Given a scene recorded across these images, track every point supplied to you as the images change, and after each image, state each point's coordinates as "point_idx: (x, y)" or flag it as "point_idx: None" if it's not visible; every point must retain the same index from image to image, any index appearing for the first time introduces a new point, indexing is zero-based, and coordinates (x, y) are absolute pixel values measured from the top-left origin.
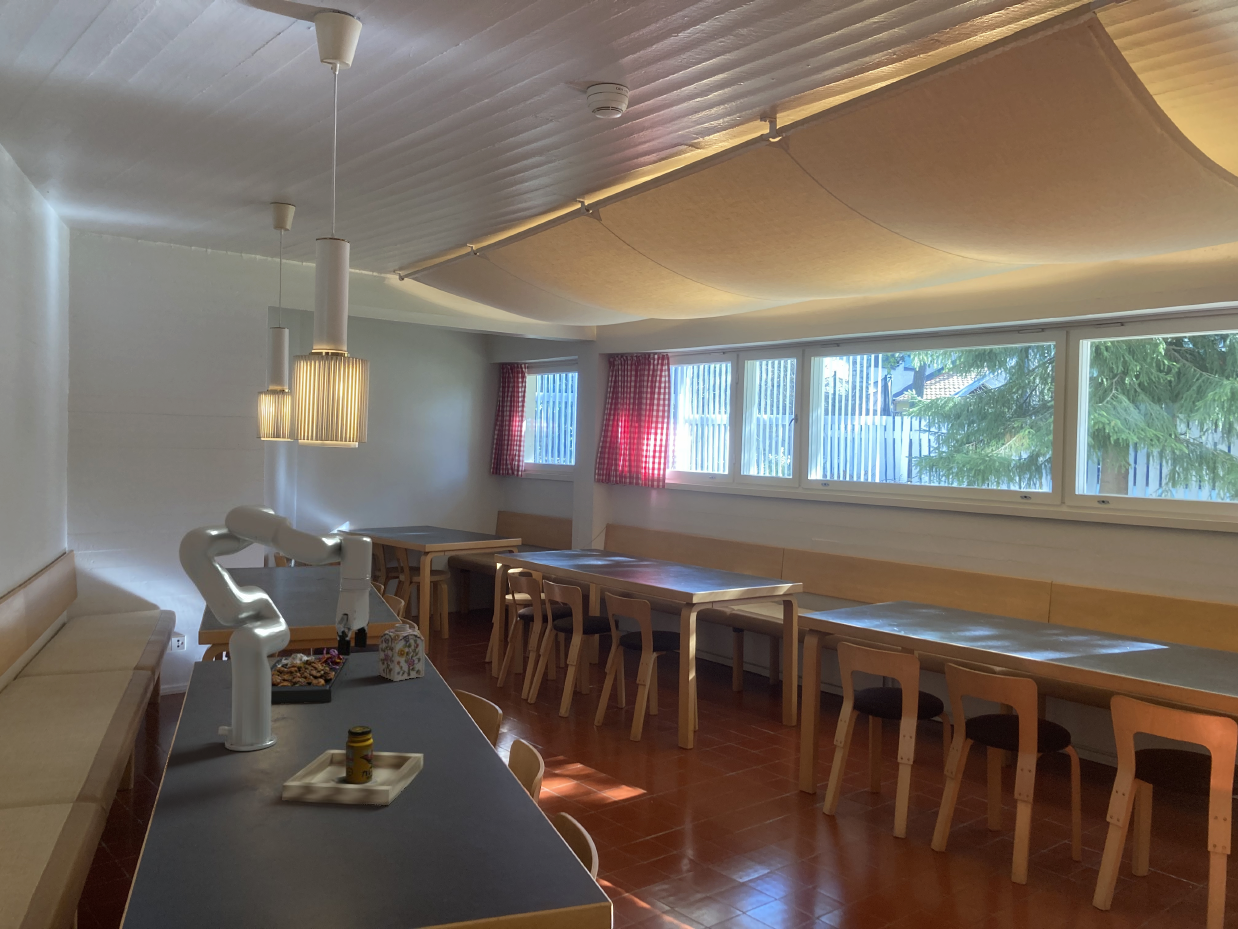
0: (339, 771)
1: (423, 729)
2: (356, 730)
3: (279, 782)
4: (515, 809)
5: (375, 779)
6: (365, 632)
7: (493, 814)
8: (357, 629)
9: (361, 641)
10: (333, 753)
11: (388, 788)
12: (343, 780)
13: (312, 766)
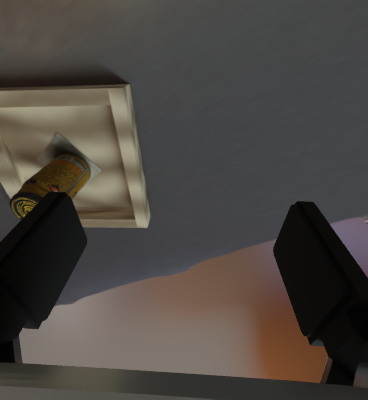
0: (90, 129)
1: (321, 173)
2: (21, 208)
3: (17, 35)
4: (85, 288)
5: (83, 186)
6: (318, 342)
7: (69, 280)
8: (364, 337)
9: (291, 264)
10: (112, 106)
11: None
12: (61, 150)
13: (35, 102)
